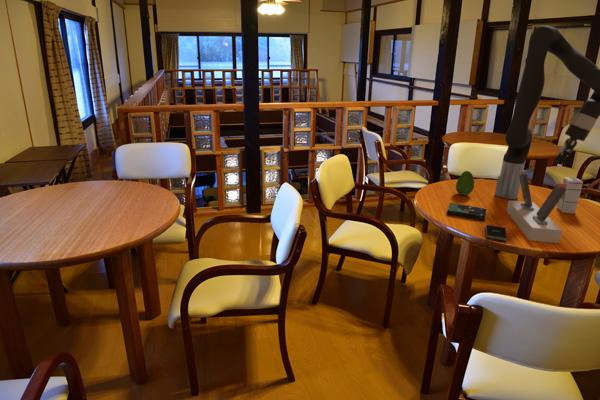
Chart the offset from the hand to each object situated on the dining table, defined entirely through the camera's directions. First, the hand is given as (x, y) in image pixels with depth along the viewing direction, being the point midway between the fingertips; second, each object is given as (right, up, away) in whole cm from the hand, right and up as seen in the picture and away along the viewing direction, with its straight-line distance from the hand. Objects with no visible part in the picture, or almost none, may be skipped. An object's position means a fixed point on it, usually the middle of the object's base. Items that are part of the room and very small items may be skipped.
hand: (557, 163), depth 169 cm
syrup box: (+10, -20, +11) cm, 25 cm away
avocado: (-28, -13, +28) cm, 41 cm away
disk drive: (-36, -22, +4) cm, 43 cm away
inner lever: (-14, -16, -2) cm, 21 cm away
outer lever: (-16, -21, -16) cm, 31 cm away
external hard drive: (-34, -29, -16) cm, 47 cm away
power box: (-15, -25, -7) cm, 30 cm away
